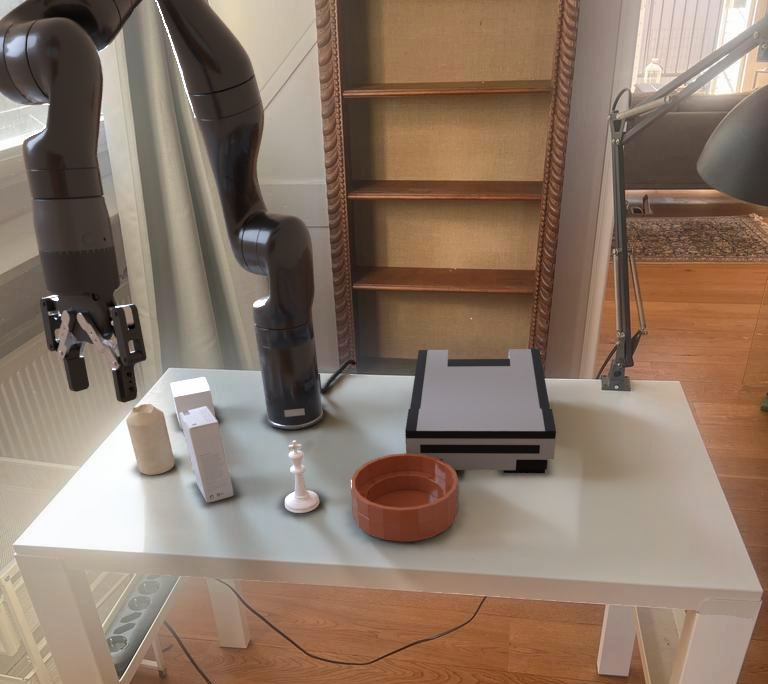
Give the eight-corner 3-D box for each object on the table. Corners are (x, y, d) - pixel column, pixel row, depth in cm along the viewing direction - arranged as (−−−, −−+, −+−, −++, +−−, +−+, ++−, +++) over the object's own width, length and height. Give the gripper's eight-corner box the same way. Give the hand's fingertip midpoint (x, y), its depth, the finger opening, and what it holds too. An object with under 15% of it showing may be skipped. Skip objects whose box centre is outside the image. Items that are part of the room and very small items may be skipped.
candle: (165, 476, 119) (151, 417, 113) (132, 474, 120) (116, 415, 114) (180, 458, 123) (167, 400, 118) (148, 456, 124) (134, 398, 119)
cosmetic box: (235, 496, 113) (221, 421, 106) (205, 504, 112) (189, 429, 105) (223, 476, 118) (209, 404, 111) (194, 484, 116) (178, 411, 109)
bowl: (369, 482, 114) (366, 449, 111) (465, 491, 111) (466, 457, 108) (340, 538, 103) (337, 503, 100) (447, 550, 100) (447, 514, 97)
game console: (536, 386, 138) (539, 342, 134) (551, 481, 112) (556, 431, 108) (419, 386, 141) (418, 343, 136) (407, 480, 114) (405, 430, 110)
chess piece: (285, 495, 113) (276, 434, 107) (319, 492, 113) (312, 431, 107) (284, 514, 108) (275, 451, 103) (319, 511, 109) (312, 448, 103)
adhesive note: (211, 408, 138) (205, 376, 134) (216, 422, 133) (210, 390, 129) (176, 414, 136) (169, 382, 133) (180, 429, 131) (173, 396, 128)
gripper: (150, 243, 81) (171, 396, 87) (66, 238, 88) (91, 379, 95) (87, 251, 75) (115, 413, 82) (4, 244, 83) (36, 394, 89)
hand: (103, 395), depth 88 cm, fingers open, 8 cm apart
